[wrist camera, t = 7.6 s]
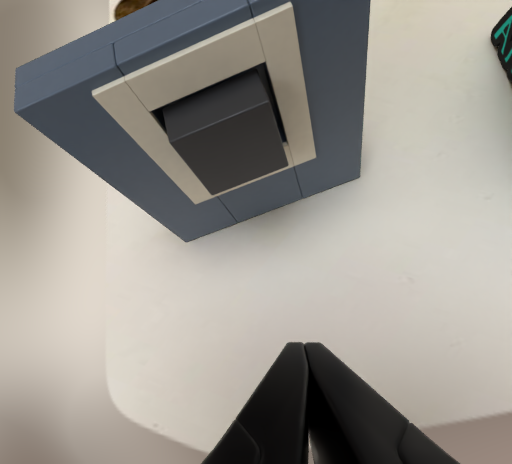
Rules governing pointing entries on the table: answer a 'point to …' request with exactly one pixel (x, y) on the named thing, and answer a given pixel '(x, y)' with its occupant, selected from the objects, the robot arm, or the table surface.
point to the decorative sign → (504, 41)
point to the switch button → (227, 133)
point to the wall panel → (200, 79)
